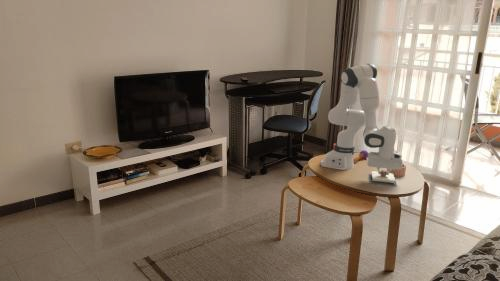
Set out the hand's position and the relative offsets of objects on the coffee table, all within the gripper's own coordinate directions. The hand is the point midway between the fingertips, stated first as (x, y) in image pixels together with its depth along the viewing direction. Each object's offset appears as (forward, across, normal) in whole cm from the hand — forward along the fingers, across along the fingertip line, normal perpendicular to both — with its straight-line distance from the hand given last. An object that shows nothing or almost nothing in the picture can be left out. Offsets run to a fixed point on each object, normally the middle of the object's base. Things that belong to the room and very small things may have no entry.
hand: (383, 174), depth 236 cm
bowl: (+4, +9, +14) cm, 17 cm away
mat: (+4, 0, -1) cm, 4 cm away
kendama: (+5, -13, +34) cm, 37 cm away
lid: (+2, 0, 0) cm, 2 cm away
